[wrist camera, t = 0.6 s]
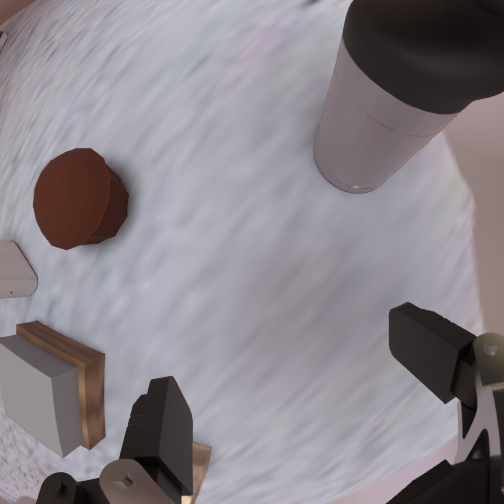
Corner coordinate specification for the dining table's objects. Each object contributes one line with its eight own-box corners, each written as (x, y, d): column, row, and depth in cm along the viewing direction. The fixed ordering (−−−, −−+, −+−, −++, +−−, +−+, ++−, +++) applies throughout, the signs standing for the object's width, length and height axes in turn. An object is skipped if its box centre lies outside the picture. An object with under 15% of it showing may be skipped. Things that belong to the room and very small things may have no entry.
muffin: (58, 220, 32) (7, 206, 22) (100, 152, 32) (55, 122, 22) (107, 272, 31) (51, 271, 21) (156, 195, 31) (112, 166, 21)
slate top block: (20, 334, 27) (-6, 338, 22) (78, 367, 25) (51, 378, 21) (26, 404, 26) (5, 414, 21) (83, 442, 25) (63, 458, 20)
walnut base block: (38, 320, 32) (16, 324, 27) (107, 353, 30) (84, 363, 25) (42, 397, 31) (23, 406, 26) (107, 435, 30) (89, 450, 25)
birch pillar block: (173, 436, 28) (142, 480, 18) (211, 447, 28) (190, 497, 18) (171, 461, 28) (143, 505, 18) (207, 472, 28) (187, 520, 18)
